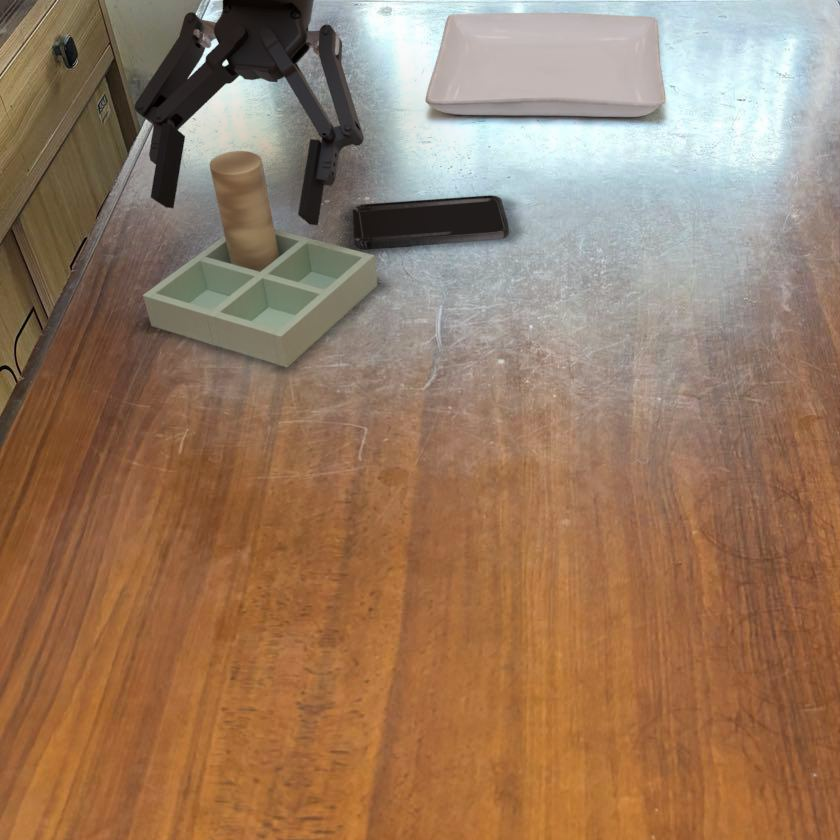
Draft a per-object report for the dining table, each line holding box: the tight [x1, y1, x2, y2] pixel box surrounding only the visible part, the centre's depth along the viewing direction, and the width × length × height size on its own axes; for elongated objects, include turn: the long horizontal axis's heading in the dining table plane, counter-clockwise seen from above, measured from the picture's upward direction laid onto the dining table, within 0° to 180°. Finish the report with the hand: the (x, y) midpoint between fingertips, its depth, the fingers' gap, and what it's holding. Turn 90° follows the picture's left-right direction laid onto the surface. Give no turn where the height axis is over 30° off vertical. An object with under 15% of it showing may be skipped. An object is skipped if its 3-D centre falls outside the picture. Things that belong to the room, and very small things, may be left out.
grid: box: [142, 228, 379, 368], centre depth 98 cm, size 14×14×4 cm
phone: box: [352, 194, 510, 250], centre depth 109 cm, size 8×1×15 cm
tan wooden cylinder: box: [209, 150, 279, 272], centre depth 98 cm, size 4×4×11 cm
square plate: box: [425, 12, 667, 118], centre depth 135 cm, size 27×27×4 cm
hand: (234, 212), depth 96 cm, fingers open, 13 cm apart
